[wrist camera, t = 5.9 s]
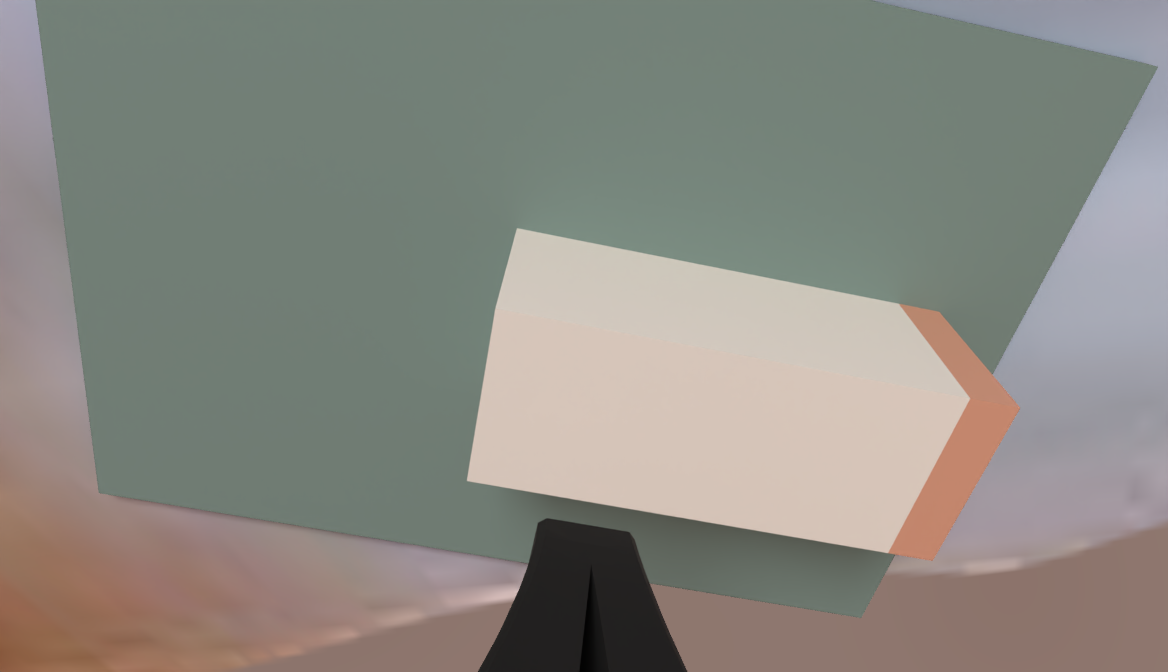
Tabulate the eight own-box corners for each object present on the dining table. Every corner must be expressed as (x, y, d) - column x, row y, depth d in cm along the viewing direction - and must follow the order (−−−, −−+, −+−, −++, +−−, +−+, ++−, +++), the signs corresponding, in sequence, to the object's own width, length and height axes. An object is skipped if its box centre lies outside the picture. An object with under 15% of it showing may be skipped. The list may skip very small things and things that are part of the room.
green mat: (106, 483, 22) (98, 492, 21) (24, -194, 14) (9, -197, 14) (857, 607, 23) (860, 617, 23) (1145, 63, 16) (1157, 66, 15)
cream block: (467, 481, 16) (932, 561, 16) (495, 308, 14) (1020, 408, 15) (491, 377, 19) (874, 446, 20) (517, 228, 17) (939, 312, 18)
